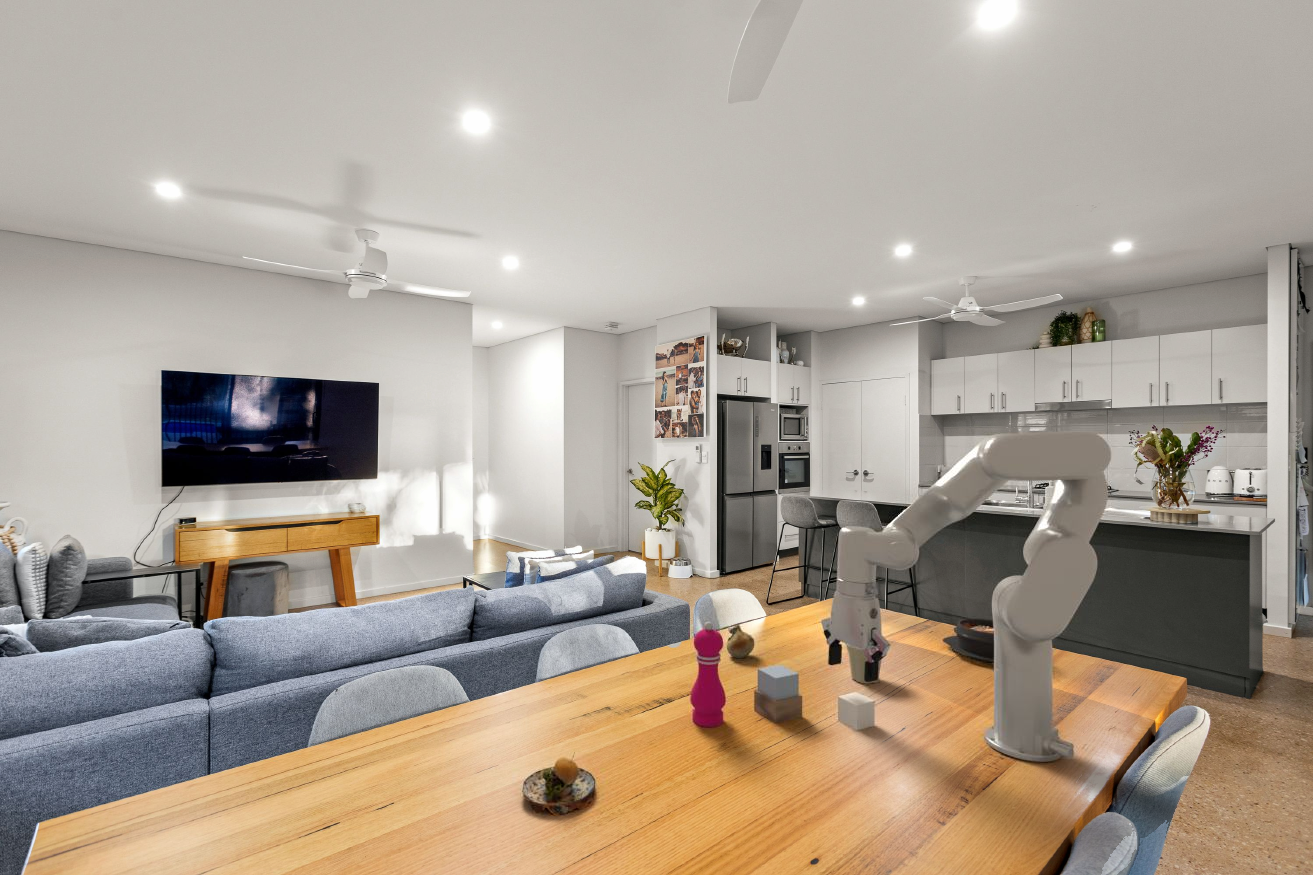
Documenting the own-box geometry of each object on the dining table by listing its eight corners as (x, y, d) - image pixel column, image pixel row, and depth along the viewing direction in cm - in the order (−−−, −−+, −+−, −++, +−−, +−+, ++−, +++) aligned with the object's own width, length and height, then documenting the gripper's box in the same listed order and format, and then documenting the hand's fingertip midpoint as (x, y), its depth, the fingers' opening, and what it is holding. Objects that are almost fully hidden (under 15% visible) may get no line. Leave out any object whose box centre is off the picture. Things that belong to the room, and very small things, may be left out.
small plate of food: (562, 768, 110) (562, 725, 110) (611, 792, 102) (612, 746, 102) (505, 797, 100) (506, 750, 100) (555, 827, 93) (556, 776, 93)
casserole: (926, 646, 177) (926, 616, 177) (976, 640, 184) (977, 611, 184) (1002, 677, 154) (1002, 643, 154) (1057, 669, 160) (1057, 635, 160)
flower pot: (891, 687, 147) (891, 650, 147) (850, 686, 147) (851, 649, 147) (878, 672, 156) (878, 637, 156) (840, 671, 156) (840, 637, 157)
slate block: (798, 695, 131) (798, 673, 131) (775, 700, 128) (775, 678, 128) (780, 685, 136) (780, 664, 136) (757, 690, 133) (757, 668, 133)
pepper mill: (723, 730, 124) (724, 627, 124) (687, 726, 126) (688, 625, 126) (727, 714, 131) (728, 618, 131) (692, 711, 133) (693, 615, 133)
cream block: (874, 725, 127) (874, 700, 127) (856, 730, 125) (856, 705, 125) (855, 716, 131) (855, 691, 131) (837, 720, 129) (838, 696, 129)
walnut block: (802, 717, 131) (802, 695, 131) (775, 724, 127) (775, 701, 127) (780, 704, 137) (780, 684, 137) (754, 711, 133) (754, 689, 133)
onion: (722, 660, 164) (723, 629, 164) (728, 650, 172) (728, 621, 172) (752, 663, 162) (752, 632, 162) (756, 653, 170) (756, 623, 170)
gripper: (903, 596, 123) (900, 684, 123) (837, 577, 138) (834, 655, 138) (876, 600, 119) (872, 691, 119) (811, 580, 134) (808, 660, 134)
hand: (852, 672), depth 128 cm, fingers open, 9 cm apart
